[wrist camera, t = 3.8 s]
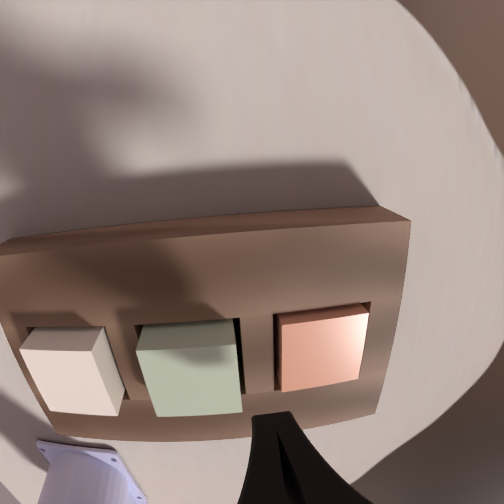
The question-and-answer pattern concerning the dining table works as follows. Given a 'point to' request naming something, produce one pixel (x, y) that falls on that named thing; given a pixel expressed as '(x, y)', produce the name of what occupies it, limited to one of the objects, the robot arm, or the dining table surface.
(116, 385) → the cream button
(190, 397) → the sage button
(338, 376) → the terracotta button
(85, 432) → the button panel
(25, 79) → the dining table surface
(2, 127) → the dining table surface
